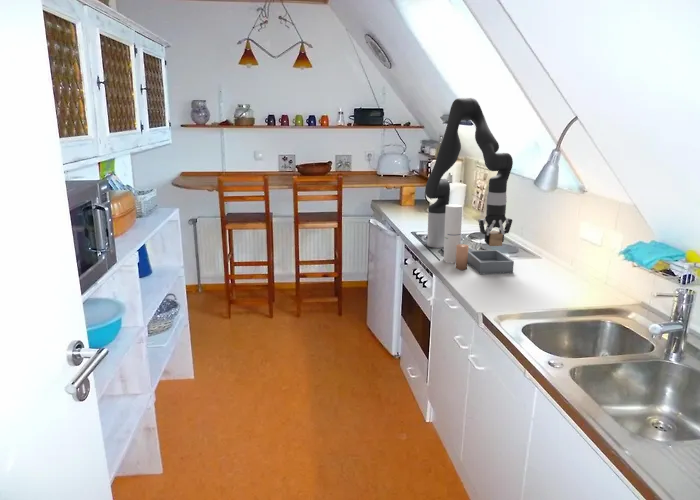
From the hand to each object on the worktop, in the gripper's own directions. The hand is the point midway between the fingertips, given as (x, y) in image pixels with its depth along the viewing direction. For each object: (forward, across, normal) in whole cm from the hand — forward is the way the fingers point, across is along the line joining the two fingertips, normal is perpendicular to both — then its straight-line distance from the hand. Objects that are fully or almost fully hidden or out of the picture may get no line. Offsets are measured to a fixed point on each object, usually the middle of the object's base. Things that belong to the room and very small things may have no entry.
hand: (493, 243), depth 205 cm
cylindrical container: (+12, +13, -16) cm, 24 cm away
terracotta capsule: (+12, +12, -4) cm, 17 cm away
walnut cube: (0, 0, 0) cm, 0 cm away
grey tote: (+12, 0, -4) cm, 12 cm away
